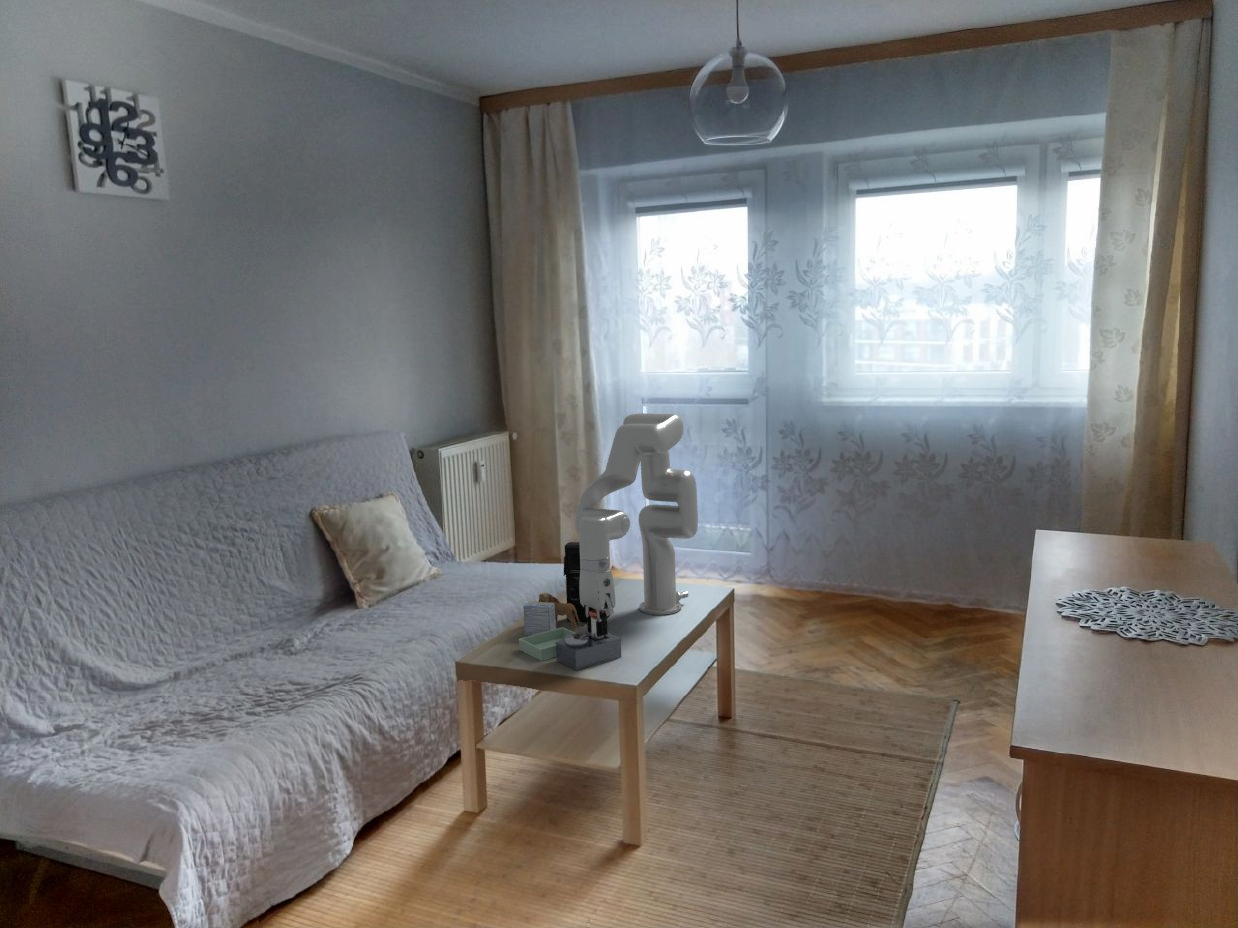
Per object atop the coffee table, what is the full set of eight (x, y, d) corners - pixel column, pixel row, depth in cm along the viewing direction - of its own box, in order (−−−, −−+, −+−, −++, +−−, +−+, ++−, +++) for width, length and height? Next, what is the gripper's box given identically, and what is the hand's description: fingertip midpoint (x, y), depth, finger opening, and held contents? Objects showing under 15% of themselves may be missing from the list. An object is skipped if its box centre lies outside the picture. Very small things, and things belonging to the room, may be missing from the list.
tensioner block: (601, 647, 241) (600, 621, 240) (621, 656, 234) (620, 629, 232) (556, 660, 232) (555, 633, 231) (576, 670, 225) (575, 642, 224)
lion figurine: (535, 625, 261) (533, 594, 260) (544, 619, 266) (542, 589, 265) (580, 630, 255) (579, 599, 254) (589, 624, 260) (588, 594, 259)
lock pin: (600, 652, 238) (598, 607, 236) (609, 656, 234) (607, 611, 233) (587, 655, 235) (586, 611, 233) (596, 659, 232) (595, 614, 230)
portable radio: (563, 622, 263) (559, 537, 259) (569, 616, 268) (565, 533, 265) (589, 623, 261) (585, 538, 257) (594, 617, 267) (591, 533, 263)
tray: (563, 637, 250) (563, 627, 249) (586, 648, 241) (585, 637, 240) (519, 649, 241) (518, 638, 241) (541, 660, 233) (540, 649, 232)
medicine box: (556, 632, 255) (555, 602, 253) (551, 637, 250) (549, 607, 249) (530, 630, 257) (528, 600, 255) (524, 635, 252) (522, 605, 251)
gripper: (626, 567, 227) (628, 638, 230) (588, 555, 240) (591, 622, 243) (601, 572, 222) (604, 645, 225) (564, 560, 236) (567, 629, 238)
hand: (597, 632), depth 234 cm, fingers closed on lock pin, 3 cm apart
